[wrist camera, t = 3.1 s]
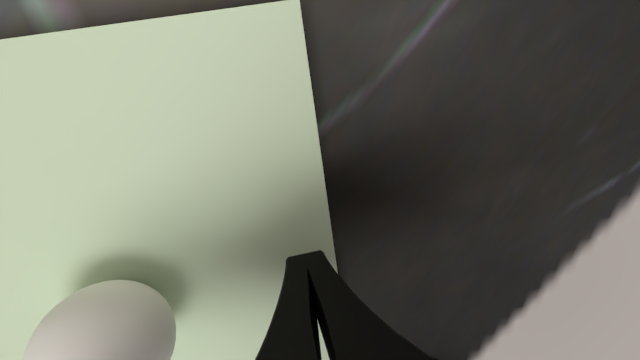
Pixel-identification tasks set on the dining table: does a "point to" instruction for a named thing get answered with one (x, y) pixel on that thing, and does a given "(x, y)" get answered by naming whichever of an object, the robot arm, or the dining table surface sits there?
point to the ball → (106, 325)
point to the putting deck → (161, 171)
